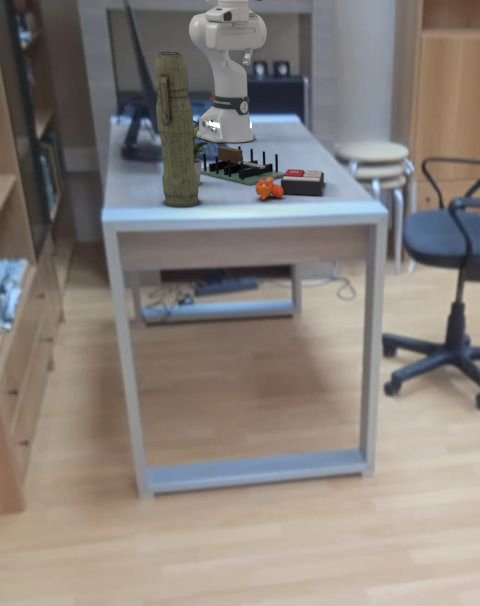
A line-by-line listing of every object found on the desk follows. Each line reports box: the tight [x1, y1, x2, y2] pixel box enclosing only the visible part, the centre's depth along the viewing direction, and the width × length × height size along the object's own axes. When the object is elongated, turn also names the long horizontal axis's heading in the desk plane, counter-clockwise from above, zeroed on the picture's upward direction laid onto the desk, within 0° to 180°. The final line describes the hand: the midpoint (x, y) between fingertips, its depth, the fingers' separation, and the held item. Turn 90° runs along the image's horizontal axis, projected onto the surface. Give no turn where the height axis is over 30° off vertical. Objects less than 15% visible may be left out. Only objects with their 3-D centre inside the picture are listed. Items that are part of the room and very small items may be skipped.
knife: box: [217, 145, 265, 169], centre depth 230 cm, size 17×2×4 cm, turn 54°
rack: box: [200, 145, 286, 186], centre depth 231 cm, size 22×16×6 cm
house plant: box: [192, 126, 214, 186], centre depth 215 cm, size 14×14×16 cm
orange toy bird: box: [254, 177, 284, 201], centre depth 210 cm, size 5×8×12 cm
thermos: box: [154, 51, 200, 208], centre depth 194 cm, size 9×12×35 cm
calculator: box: [280, 168, 325, 196], centre depth 220 cm, size 11×4×15 cm
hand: (235, 66), depth 234 cm, fingers open, 8 cm apart
